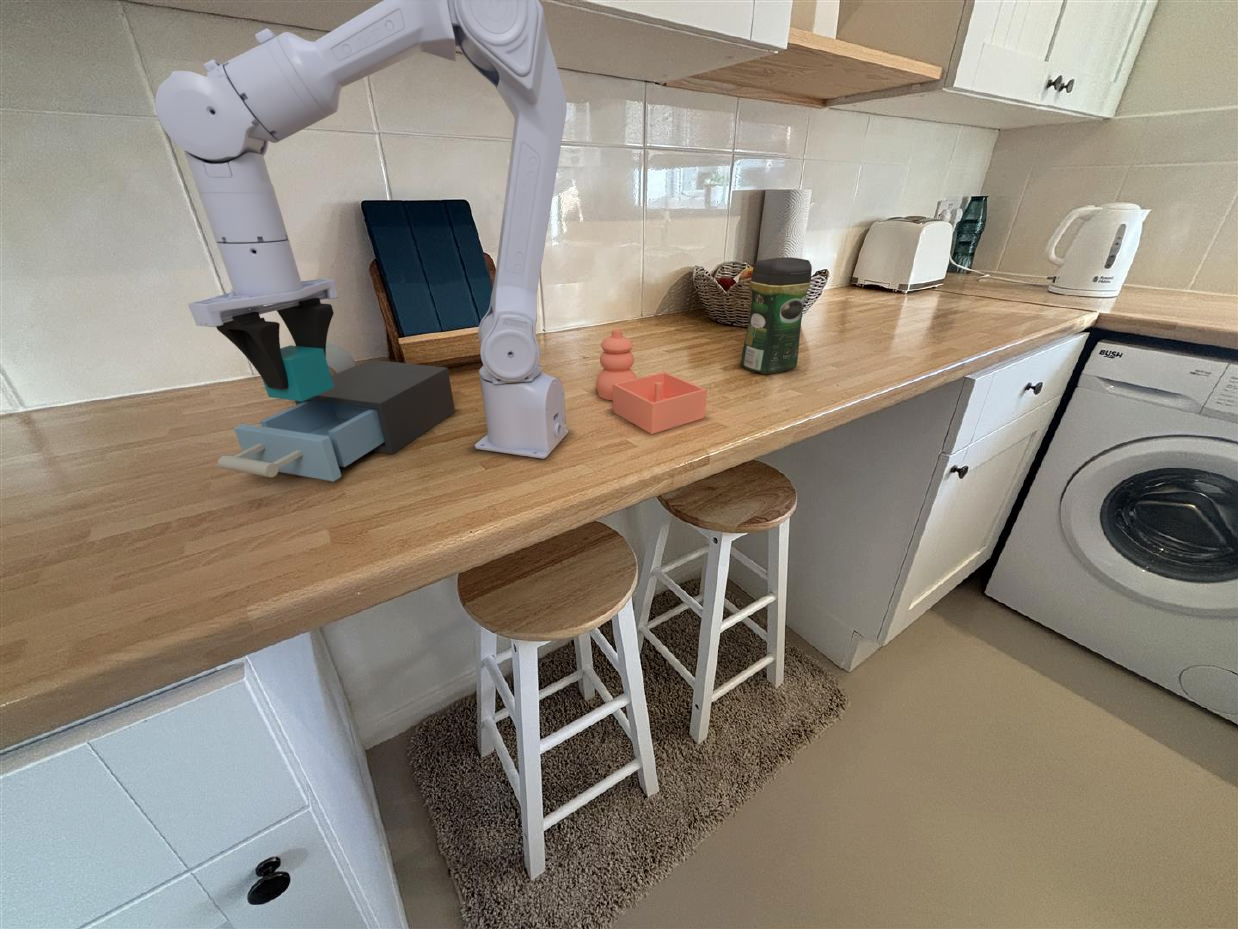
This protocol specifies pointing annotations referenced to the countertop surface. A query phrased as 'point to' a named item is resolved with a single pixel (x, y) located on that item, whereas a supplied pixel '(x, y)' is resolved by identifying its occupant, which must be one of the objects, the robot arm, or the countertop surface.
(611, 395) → the pink peg stacking toy
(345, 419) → the drawer
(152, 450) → the countertop surface
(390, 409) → the dark grey drawer cabinet
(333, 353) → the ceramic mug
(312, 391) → the teal toy cube
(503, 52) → the robot arm
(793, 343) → the coffee jar
